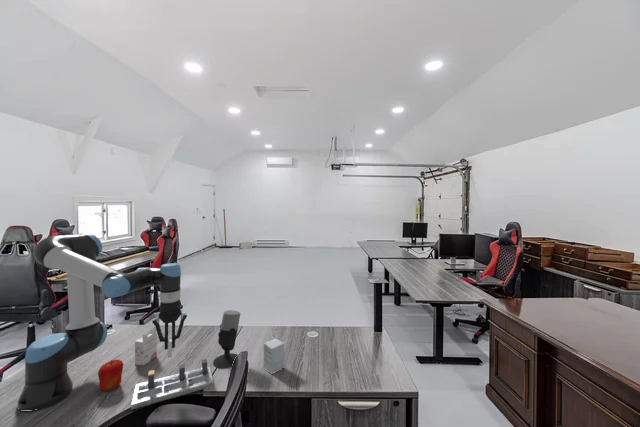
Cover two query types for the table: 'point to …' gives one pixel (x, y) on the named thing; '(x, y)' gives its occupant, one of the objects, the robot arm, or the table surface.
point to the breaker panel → (171, 387)
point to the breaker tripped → (151, 379)
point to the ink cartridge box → (146, 348)
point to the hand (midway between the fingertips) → (169, 355)
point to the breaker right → (204, 367)
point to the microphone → (227, 339)
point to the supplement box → (274, 355)
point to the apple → (110, 375)
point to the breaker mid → (181, 372)
